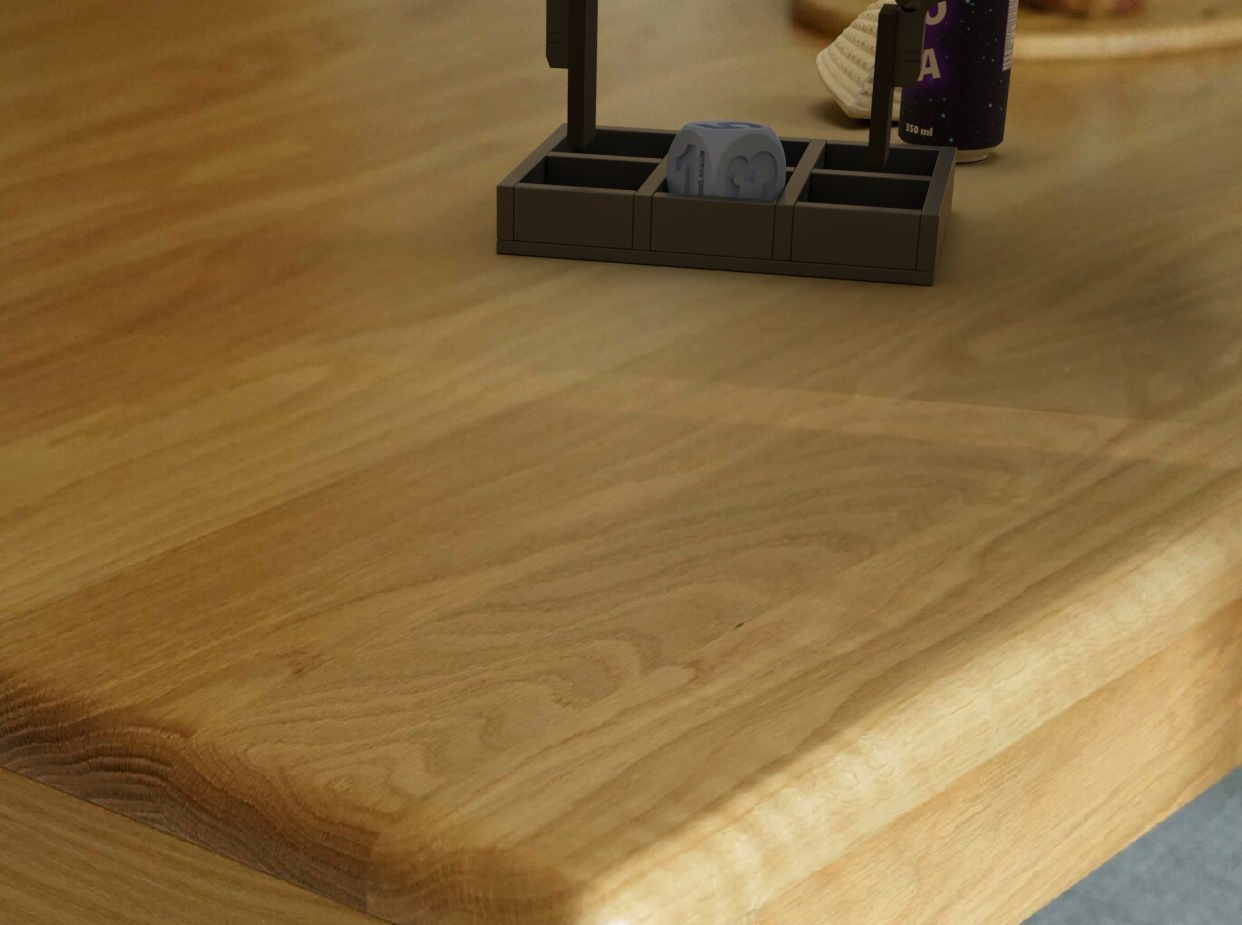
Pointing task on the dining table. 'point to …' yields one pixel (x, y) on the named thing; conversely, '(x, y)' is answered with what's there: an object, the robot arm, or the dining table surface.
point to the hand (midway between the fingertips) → (727, 152)
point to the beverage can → (962, 78)
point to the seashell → (855, 65)
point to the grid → (732, 209)
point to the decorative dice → (727, 160)
